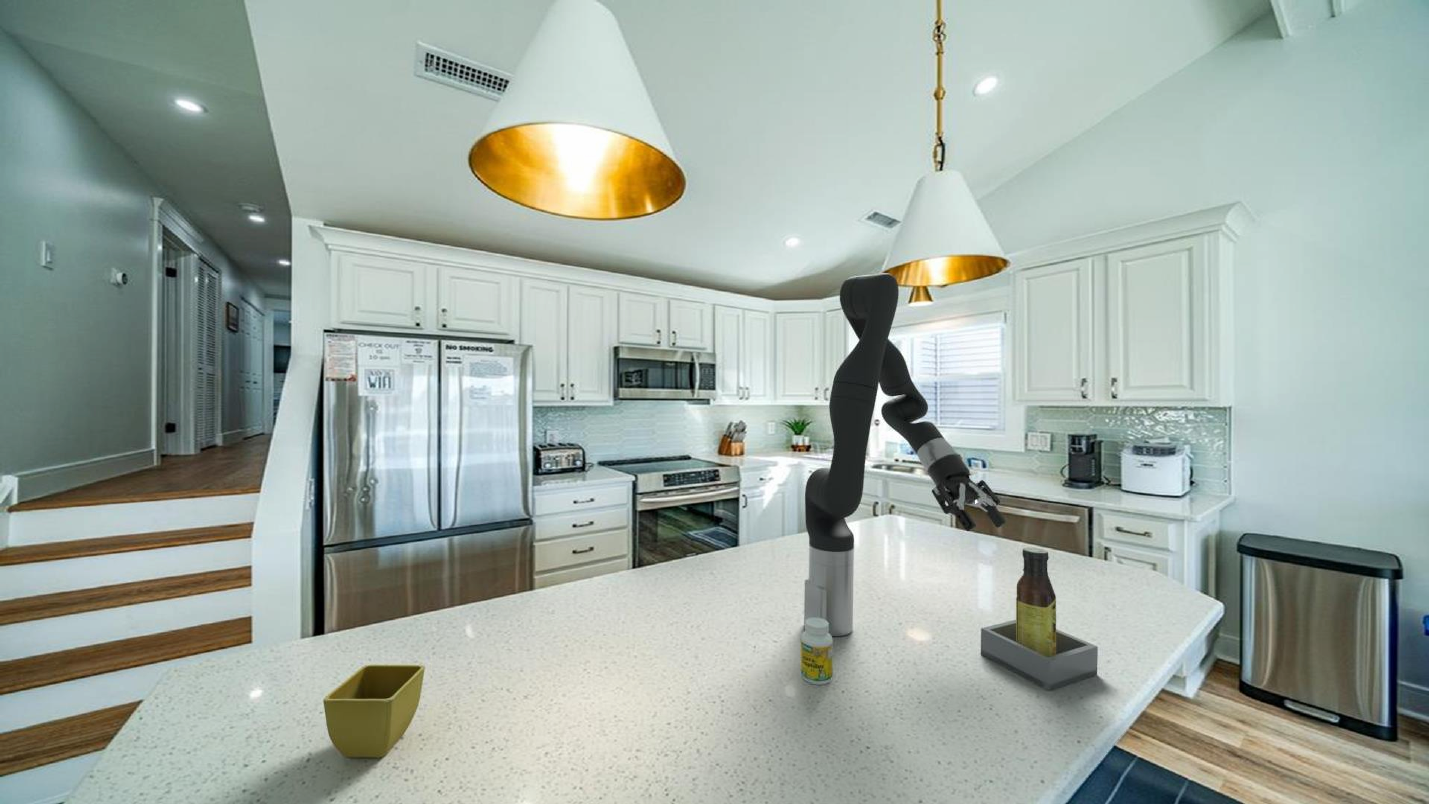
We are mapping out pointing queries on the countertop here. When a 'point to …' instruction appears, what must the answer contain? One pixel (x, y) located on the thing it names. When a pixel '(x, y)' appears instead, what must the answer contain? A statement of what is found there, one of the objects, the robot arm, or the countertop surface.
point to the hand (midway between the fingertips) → (987, 527)
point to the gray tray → (1040, 657)
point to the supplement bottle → (816, 652)
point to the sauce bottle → (1036, 604)
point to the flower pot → (373, 708)
